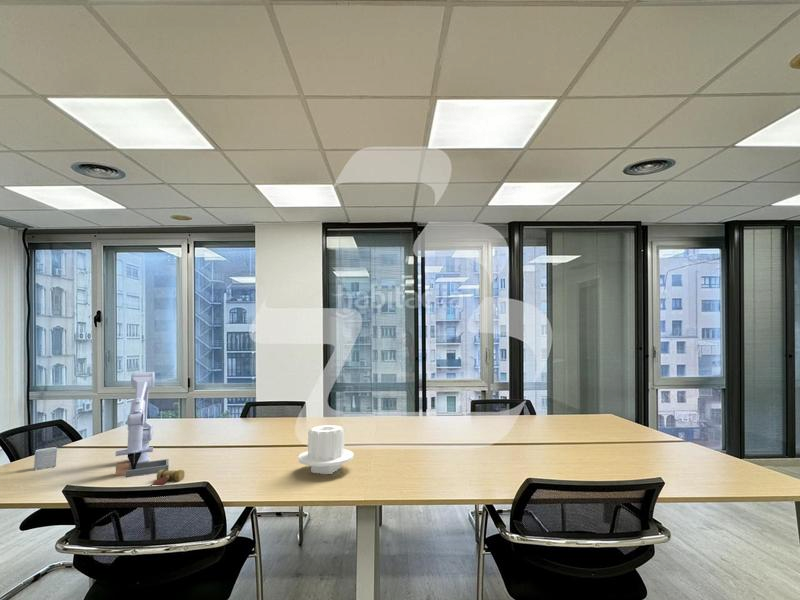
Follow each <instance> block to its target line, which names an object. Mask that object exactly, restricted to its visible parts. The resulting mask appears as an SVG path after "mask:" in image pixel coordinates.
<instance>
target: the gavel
mask: <svg viewBox="0 0 800 600" xmlns="http://www.w3.org/2000/svg"><path fill="white" fill-rule="evenodd" d="M184 478H185V470H184V469H177V470H168V471H166V470H159V471H158V473H157V474H156V481H154V482H153V483H151V484H150V485H149V486H152V485H161V486H163V485H165V484H166V482H169V481H174V482H182V481H183V480H184Z"/></svg>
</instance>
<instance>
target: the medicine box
mask: <svg viewBox="0 0 800 600" xmlns="http://www.w3.org/2000/svg"><path fill="white" fill-rule="evenodd" d="M57 454H58V447H56V446H55V447H46V448H40V449H35V450H34V463H33V469H39V470H42V469H41V468H45V469H48V468H47V467H51V468H54V467H53V466H56V467H57V456H58V455H57Z"/></svg>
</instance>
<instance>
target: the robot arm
mask: <svg viewBox="0 0 800 600" xmlns="http://www.w3.org/2000/svg"><path fill="white" fill-rule="evenodd" d="M155 375H156V374H155V372H154V371H150V372H149V371H148V372H146V371H145V372H144V371H143V372H135V371H134V372H132V374H131V375H130V384H131V386H132V388H133V389H134V390H135V391H134V393H135V396H134V399H133V400H132V401H131V403H130V411H129V414H128V415H127V419H126V420H127V421H126V424H127V449H126V448H125V449H121V450H116V451H115V457H119V456H127V460H128V461H130V464H131V467H132V470H135V469H136V465H137V463H141V462H149V461H150V455H149V453H153V452H154V447H153V446H150V442H151V441H152V440H153V433H154V432H153V431H154V430H153V429H154V428H153V425H152V424H151V423H149V422H148V407H149V392H150V390H151V389H153V388H154V387H155V381H156V380H155V379H156V377H155Z"/></svg>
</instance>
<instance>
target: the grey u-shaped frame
mask: <svg viewBox="0 0 800 600" xmlns="http://www.w3.org/2000/svg"><path fill="white" fill-rule="evenodd" d="M169 465H170V463H169V458H166V459H164V458H163V459H159V460H158V459H157V460H149V461H146V462H138V463H137V465H136V469H135V470H132V467H131V463H130V470H127V471H126V475H125V478H129V477H135V476H143V475H150V474H156V473H158V471H159V470H166V471H169Z"/></svg>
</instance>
